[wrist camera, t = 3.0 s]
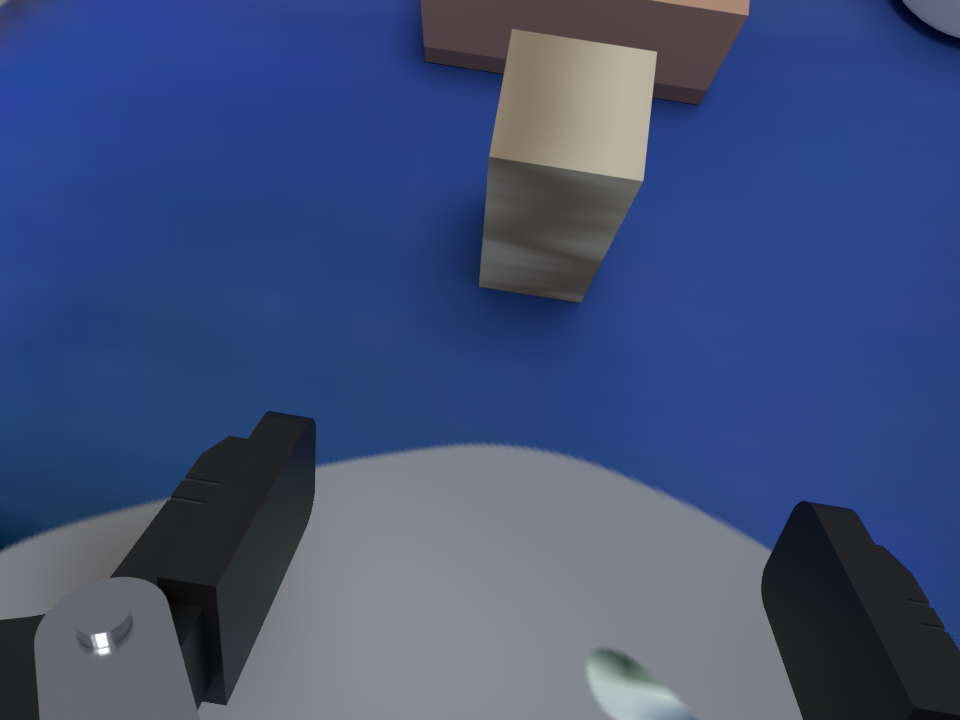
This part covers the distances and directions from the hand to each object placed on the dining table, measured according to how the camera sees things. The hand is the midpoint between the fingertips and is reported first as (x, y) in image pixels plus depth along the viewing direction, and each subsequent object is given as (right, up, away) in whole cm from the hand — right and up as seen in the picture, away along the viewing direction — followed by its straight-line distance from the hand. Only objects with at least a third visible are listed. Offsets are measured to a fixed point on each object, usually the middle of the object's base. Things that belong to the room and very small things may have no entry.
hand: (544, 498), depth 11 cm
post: (+1, +7, +18) cm, 19 cm away
